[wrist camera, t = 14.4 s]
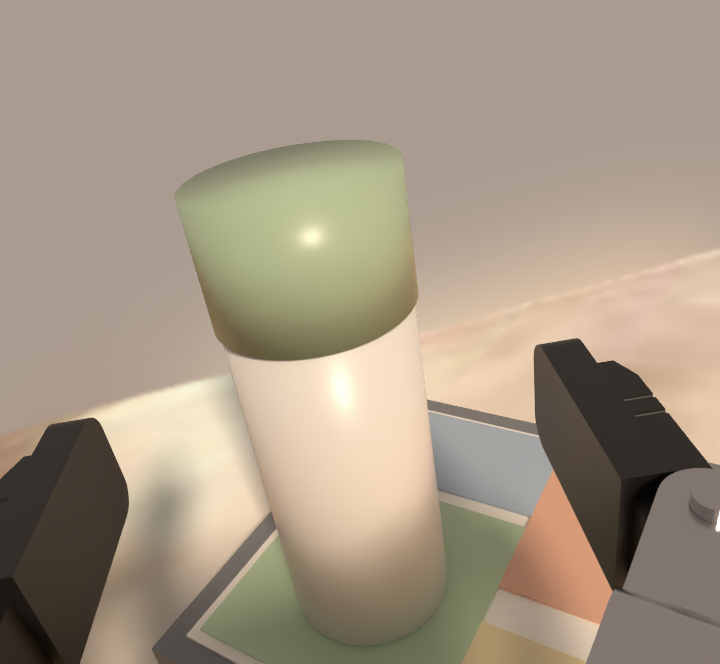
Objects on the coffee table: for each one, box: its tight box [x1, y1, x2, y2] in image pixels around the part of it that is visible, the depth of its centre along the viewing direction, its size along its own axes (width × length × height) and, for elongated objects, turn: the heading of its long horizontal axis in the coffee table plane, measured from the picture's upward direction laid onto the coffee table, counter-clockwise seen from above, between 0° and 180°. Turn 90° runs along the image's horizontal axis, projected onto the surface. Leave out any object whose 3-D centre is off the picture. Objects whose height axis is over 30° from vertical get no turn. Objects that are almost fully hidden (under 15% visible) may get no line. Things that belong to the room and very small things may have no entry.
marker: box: [175, 140, 448, 646], centre depth 16 cm, size 5×5×12 cm
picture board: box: [152, 400, 720, 664], centre depth 19 cm, size 16×13×1 cm
